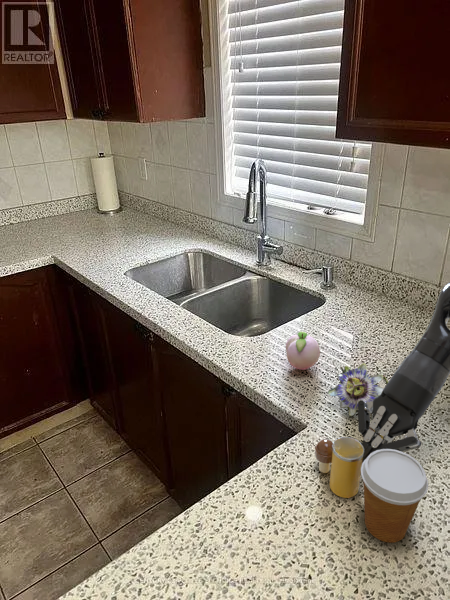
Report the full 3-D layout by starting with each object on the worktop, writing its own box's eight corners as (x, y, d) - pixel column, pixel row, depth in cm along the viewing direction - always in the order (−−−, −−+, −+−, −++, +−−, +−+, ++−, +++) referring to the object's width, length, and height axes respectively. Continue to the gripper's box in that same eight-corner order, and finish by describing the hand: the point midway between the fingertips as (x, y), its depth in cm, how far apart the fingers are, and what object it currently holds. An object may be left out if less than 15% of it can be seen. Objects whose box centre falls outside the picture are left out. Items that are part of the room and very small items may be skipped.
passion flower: (350, 433, 98) (319, 396, 94) (357, 397, 106) (329, 361, 102) (398, 425, 91) (367, 384, 87) (402, 386, 99) (374, 348, 95)
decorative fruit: (321, 379, 107) (323, 343, 103) (286, 379, 107) (287, 343, 103) (316, 357, 115) (318, 324, 111) (284, 357, 116) (285, 323, 112)
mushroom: (337, 465, 83) (340, 438, 80) (331, 480, 80) (334, 452, 77) (317, 458, 85) (319, 431, 82) (311, 472, 82) (312, 445, 79)
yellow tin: (363, 482, 79) (368, 444, 75) (352, 503, 75) (357, 464, 71) (335, 470, 82) (339, 432, 78) (324, 489, 78) (327, 451, 74)
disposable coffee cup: (352, 496, 77) (358, 443, 71) (410, 503, 75) (421, 449, 70) (357, 548, 68) (365, 492, 63) (423, 557, 67) (437, 500, 61)
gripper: (457, 409, 76) (398, 493, 75) (393, 371, 86) (341, 445, 86) (443, 395, 71) (380, 485, 71) (377, 357, 81) (322, 435, 81)
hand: (359, 463), depth 78 cm, fingers closed
